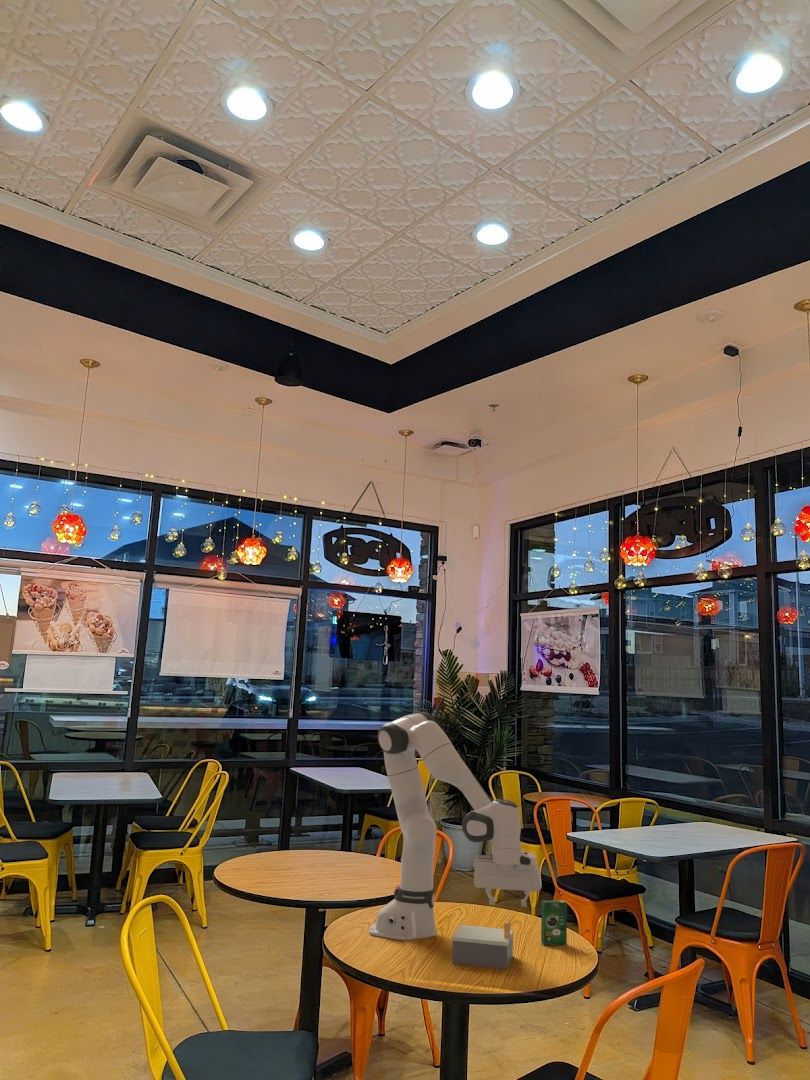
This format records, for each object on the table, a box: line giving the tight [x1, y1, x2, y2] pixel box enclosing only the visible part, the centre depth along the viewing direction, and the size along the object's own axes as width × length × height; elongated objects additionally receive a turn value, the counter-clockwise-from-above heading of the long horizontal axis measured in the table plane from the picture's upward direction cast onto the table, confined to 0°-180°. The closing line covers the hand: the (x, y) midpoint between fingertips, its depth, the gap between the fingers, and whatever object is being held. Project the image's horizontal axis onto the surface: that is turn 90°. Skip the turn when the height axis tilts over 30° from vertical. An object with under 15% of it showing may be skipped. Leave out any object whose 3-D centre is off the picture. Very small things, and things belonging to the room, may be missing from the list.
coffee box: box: [540, 900, 568, 946], centre depth 250 cm, size 8×3×13 cm, turn 102°
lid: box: [451, 918, 514, 946], centre depth 231 cm, size 16×13×6 cm
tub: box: [451, 936, 514, 971], centre depth 230 cm, size 16×13×7 cm
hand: (507, 905), depth 231 cm, fingers open, 8 cm apart
